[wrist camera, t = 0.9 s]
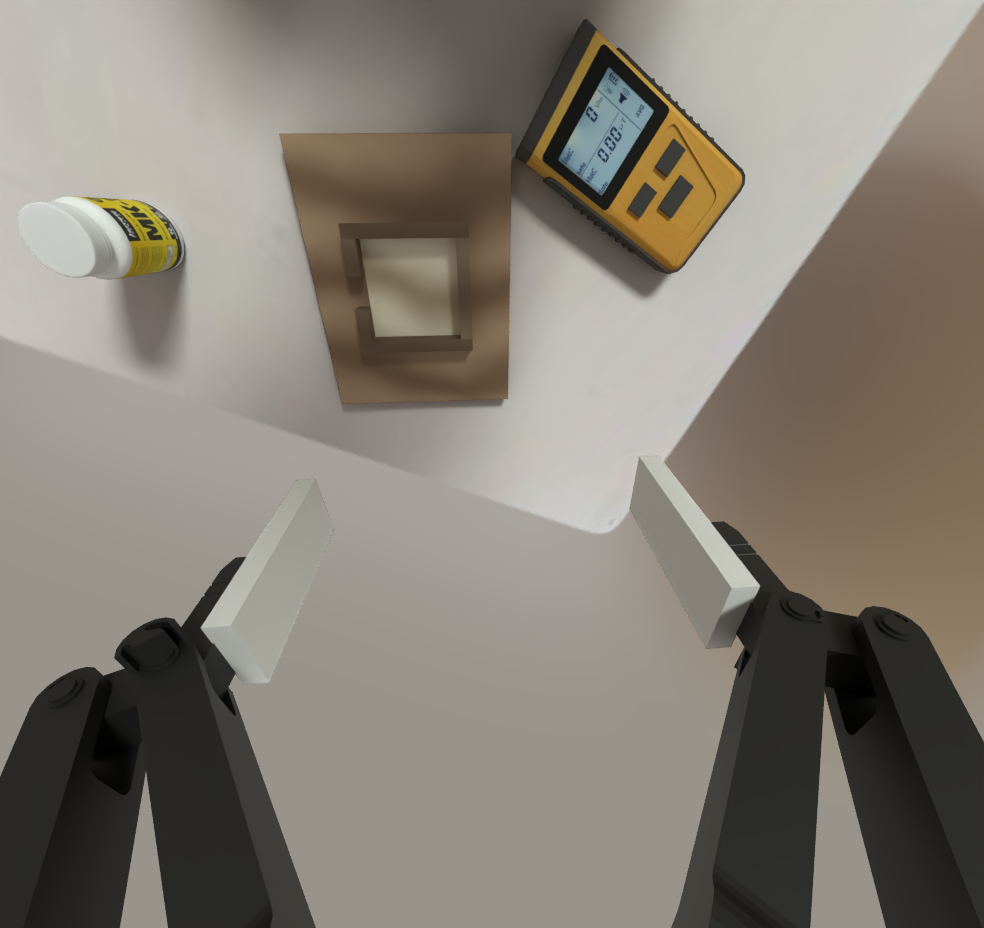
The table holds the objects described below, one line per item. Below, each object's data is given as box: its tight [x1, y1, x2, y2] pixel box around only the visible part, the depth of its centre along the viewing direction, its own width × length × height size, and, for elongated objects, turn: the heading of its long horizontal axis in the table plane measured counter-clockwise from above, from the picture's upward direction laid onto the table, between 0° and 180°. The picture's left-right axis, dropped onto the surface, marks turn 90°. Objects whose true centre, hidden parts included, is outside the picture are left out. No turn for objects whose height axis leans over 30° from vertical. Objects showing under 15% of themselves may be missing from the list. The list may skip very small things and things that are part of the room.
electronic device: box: [516, 19, 745, 274], centre depth 29 cm, size 8×16×3 cm, turn 59°
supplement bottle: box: [18, 197, 184, 280], centre depth 27 cm, size 5×5×8 cm
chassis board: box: [279, 133, 512, 404], centre depth 32 cm, size 20×16×3 cm
